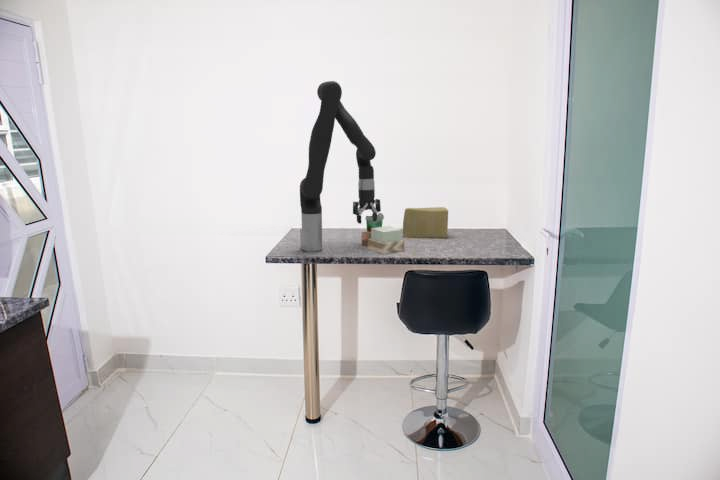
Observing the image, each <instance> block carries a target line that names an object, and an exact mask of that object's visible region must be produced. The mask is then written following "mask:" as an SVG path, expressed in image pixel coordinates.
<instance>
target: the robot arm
mask: <svg viewBox="0 0 720 480" xmlns="http://www.w3.org/2000/svg"><path fill="white" fill-rule="evenodd" d="M316 92H317V93H316V94H317V96H318V99H319V100H320V108H319V112H318V116H317V117H316V120H315V122H314V125H313V126H312V130H311V133H310V138H309V142H308V143H309V145H308V165H307V171H306V175H305V177H304V178H302V180H301V182H300V185H299V202H300V210H301V211H300V212H301V213H300V214H301V228H300V230H299V232H300V233H299V235H300V237H299V238H300V250H302V251H303V252H307V253H308V252H310V253H313V252H319V251H323V246H324V245H323V213H322V212H323V210H322V209H323V208H322V204H321V194H322V192H323V186H324V176H325V171H326V170H325V168H326V164H327V162H328V161H327V160H328V158H329V154H330V153H329V152H330V149H331V143H332V138H333V132H334V128H335V121H337V123H338V124H339V127H341V129H342V130H343V133H344V134H345V135H346V137H347V139H348V140H349V142H350V144H352V145H353V146H355V148H356V150H355V151H356V152H355V157H356V164H357V168H358V186H357V187H358V201H353V202H352V215H355V216H356V223H357V224H362V214H363V213H364V212H365V211H367V210H369V211H371V212H372V215H371V216H372V217H373V221H376V220H377V215H378V213H381V200H380V199H379V198H375V197H376V195H375V194H376V193H375V192H376V190H375V170H374V166H372V164H371V163H372V162H371V161H372V160H374V159H375V157H376V154H377V153H376V152H377V151H376V148H375V146H374V145H373V144H372V142H371V141H370V139H368V137H366V135H365V134H364V132H363V131H362V128H361V127H360V126H359V124H358V123H357V121H356V120H355V118H354V117H353V116H352V115H351V114H350V113H349V111H348V110H347V109H346V108H345V107H344V105H343V103H342V102H341V98H342V96H343V95H342V93H343V89H342V87H341V85H340V84H339V83H338V82H337V81H335V80H329V81H324V82H322V83H320V84H319V85H318V87H317V91H316ZM374 204H375V205H374Z"/></svg>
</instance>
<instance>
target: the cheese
mask: <svg viewBox="0 0 720 480" xmlns="http://www.w3.org/2000/svg"><path fill="white" fill-rule="evenodd" d="M448 225H449V209H448V208H446V207H445V206H443V207H442V206H439V207H438V206H437V207H436V206H435V207H432V206H431V207H406V208H405V209H404V214H403V221H402V238H417V239H418V238H422V239H423V238H426V239H427V238H429V239H430V238H431V239H433V238H436V239H438V238H439V239H447V238H448V228H449V227H448Z"/></svg>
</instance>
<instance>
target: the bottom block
mask: <svg viewBox="0 0 720 480" xmlns="http://www.w3.org/2000/svg"><path fill="white" fill-rule="evenodd" d="M367 249H368V250H369V251H373V252H375V253H378V254H381V255H386V254H387V255H388V254H393V253H398V252H404V251H405V240H402V239H401V241H395V242H388V243H381V242H378V241H376V240H373V239H368V246H367Z"/></svg>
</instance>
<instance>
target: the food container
mask: <svg viewBox="0 0 720 480" xmlns="http://www.w3.org/2000/svg"><path fill="white" fill-rule="evenodd" d="M384 219H385V216H384V214H383V213H381V212H378V213H377V220H376V221H373V217H372V215H366V216H365V221H366V232H371V228H377V227H383V221H384Z"/></svg>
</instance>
